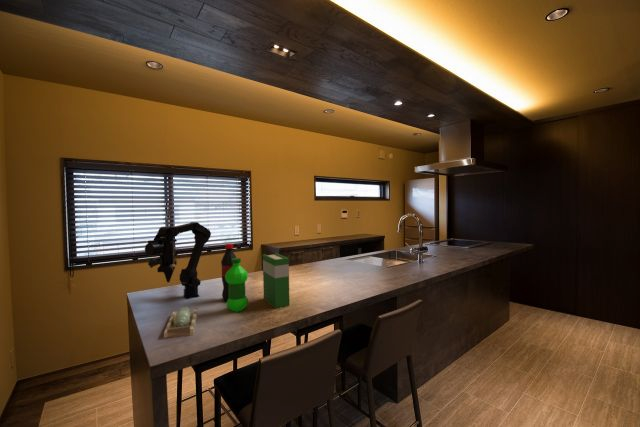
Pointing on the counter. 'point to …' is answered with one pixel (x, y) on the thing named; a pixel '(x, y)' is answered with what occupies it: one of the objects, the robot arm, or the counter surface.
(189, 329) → the rest
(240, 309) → the plastic bottle
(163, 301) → the counter surface
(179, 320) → the glass bottle
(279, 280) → the green cereal box
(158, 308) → the counter surface
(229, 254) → the cola bottle
